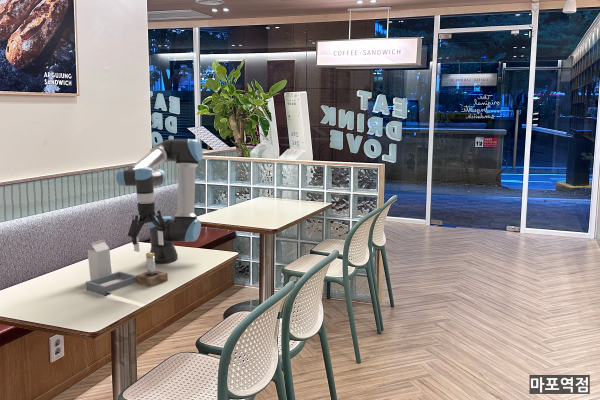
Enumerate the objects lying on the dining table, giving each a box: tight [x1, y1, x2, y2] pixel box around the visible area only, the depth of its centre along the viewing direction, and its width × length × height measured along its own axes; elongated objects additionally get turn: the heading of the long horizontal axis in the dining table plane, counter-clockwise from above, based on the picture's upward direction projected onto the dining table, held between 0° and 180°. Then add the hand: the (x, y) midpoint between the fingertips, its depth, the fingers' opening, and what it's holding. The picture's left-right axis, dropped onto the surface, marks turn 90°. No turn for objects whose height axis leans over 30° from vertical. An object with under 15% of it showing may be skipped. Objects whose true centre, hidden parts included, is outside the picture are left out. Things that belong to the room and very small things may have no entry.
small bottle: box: [145, 251, 157, 277], centre depth 250 cm, size 4×4×14 cm
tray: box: [85, 270, 137, 297], centre depth 249 cm, size 18×14×4 cm
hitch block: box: [135, 270, 169, 288], centre depth 251 cm, size 10×10×5 cm
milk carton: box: [87, 239, 113, 281], centre depth 260 cm, size 7×7×19 cm
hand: (149, 248), depth 248 cm, fingers open, 13 cm apart
